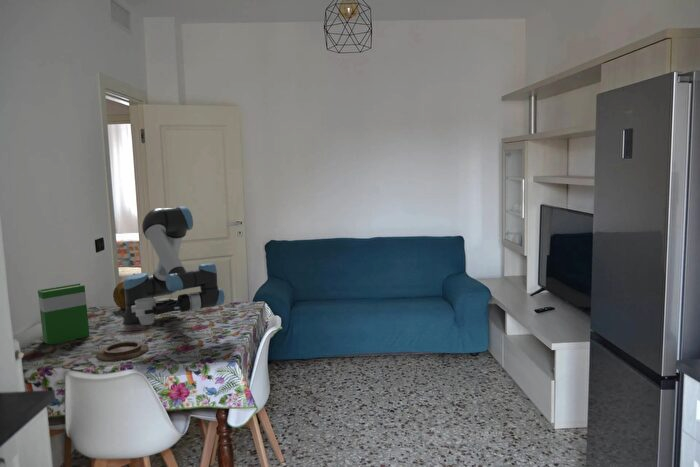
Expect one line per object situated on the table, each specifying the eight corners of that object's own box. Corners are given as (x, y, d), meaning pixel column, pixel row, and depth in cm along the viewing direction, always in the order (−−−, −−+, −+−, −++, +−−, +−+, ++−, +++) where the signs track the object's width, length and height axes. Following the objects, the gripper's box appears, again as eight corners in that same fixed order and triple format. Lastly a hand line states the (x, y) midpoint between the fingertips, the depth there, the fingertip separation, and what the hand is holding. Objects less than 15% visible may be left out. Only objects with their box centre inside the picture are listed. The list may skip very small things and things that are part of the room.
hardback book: (84, 332, 261) (79, 283, 258) (89, 335, 255) (84, 285, 252) (43, 341, 249) (37, 290, 246) (47, 345, 243) (42, 292, 240)
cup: (161, 320, 233) (159, 298, 231) (149, 326, 225) (146, 302, 224) (145, 320, 235) (143, 297, 234) (132, 325, 227) (130, 302, 226)
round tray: (117, 343, 241) (117, 338, 241) (157, 345, 236) (157, 340, 236) (85, 359, 222) (85, 353, 221) (128, 362, 217) (128, 356, 216)
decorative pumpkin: (113, 305, 309) (113, 270, 307) (152, 303, 318) (152, 269, 315) (113, 315, 291) (113, 278, 289) (154, 312, 299) (155, 277, 297)
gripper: (196, 315, 231) (139, 325, 219) (182, 305, 248) (129, 315, 236) (195, 298, 230) (138, 307, 218) (181, 289, 247) (127, 298, 235)
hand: (133, 311), depth 227 cm, fingers closed on cup, 8 cm apart
